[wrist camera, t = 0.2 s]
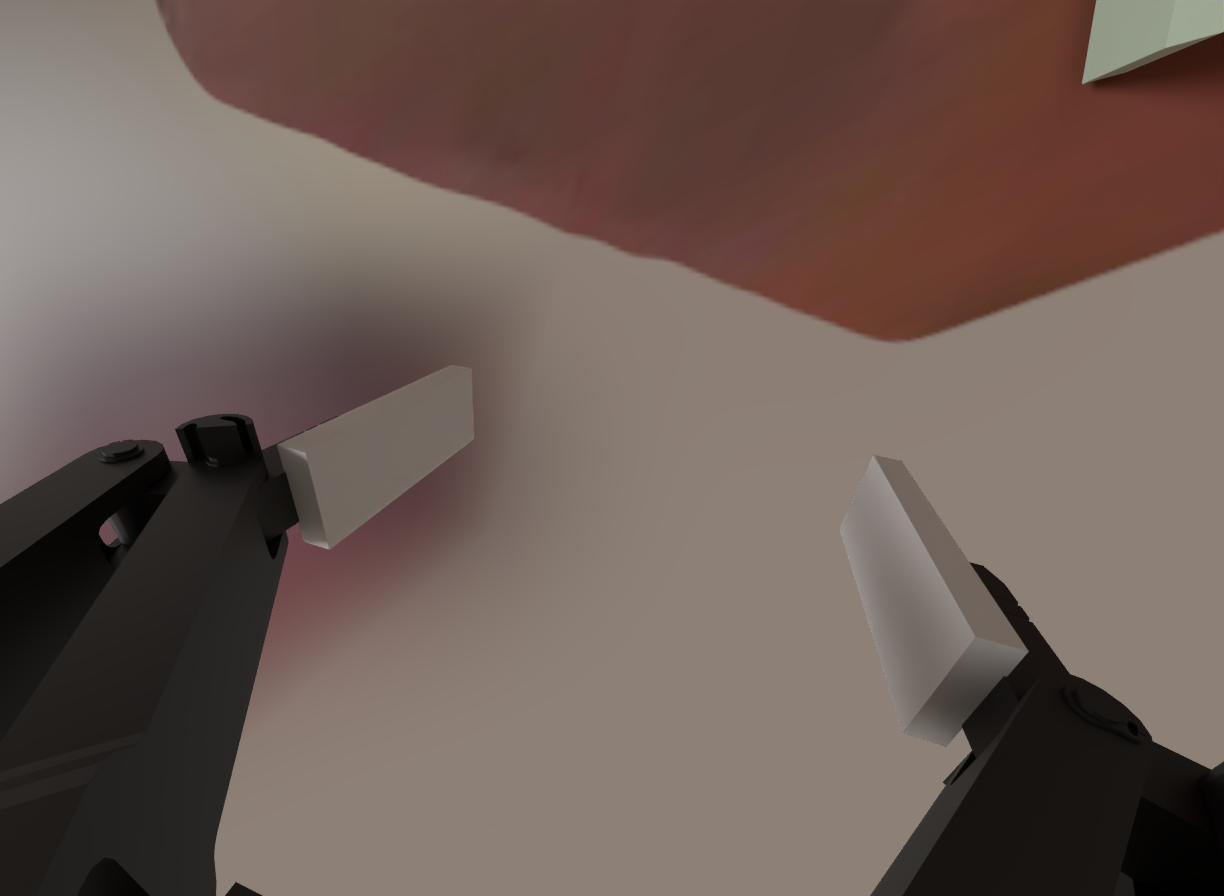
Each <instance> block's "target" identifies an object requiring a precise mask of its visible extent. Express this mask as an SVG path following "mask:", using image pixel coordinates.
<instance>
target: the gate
mask: <svg viewBox="0 0 1224 896" xmlns="http://www.w3.org/2000/svg"><path fill="white" fill-rule="evenodd" d="M1222 32H1224V0H1096V6H1095V12H1094V17H1093V23H1092V29H1091V35H1090V41H1089V46H1088V52H1087V58H1086V64H1085V70H1084V76H1083V81H1082V84H1084V83H1088V82H1092V81H1096V80H1099V79H1103V78H1107V77H1111V76H1114V75H1118V74H1122V73H1126V72H1128V71H1131V70H1133V69H1136V68H1138V67H1140V66H1143V65H1145V64H1148V63H1150V62H1152V61H1155V60H1157V59H1160V58H1162V57H1164V56H1167V55H1169V54H1172V53H1174V52H1177V51H1179V50H1181V49H1184V48H1186V47H1189V46H1191V45H1193V44H1196V43H1198V42H1201V41H1203V40H1205V39H1208V38H1210V37H1213V36H1215V35H1217V34H1220V33H1222Z"/></svg>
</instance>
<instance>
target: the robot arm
mask: <svg viewBox="0 0 1224 896" xmlns="http://www.w3.org/2000/svg"><path fill="white" fill-rule="evenodd" d="M175 430H176V433H177V435H178V438H179V440H180V443H181V445H182V448H183V450H184V453H185V455H186V458H187V461H188V462H181V461H180V462H179V461H169V459H168V456H167V454H166V452H165V449H164V447H163V444H161V443H159V442H157V441H150V440H124V441H122V442H120V441H118V442H113V443H111V444H109V445H107V446H103V447H100V448H97V449H95V450H93V451H90V452H88V453H86V454H84V455H83V456H81V457H79V458H78V459H76V460H74V461H72V462H71V463H69V464H67V465H66V466H64V467H62V468H61V469H59V470H57V471H56V472H54V473H52V474H51V475H49V476H47V477H45V478H44V479H42V480H40V481H39V482H37V483H36V484H34V485H32V486H30V487H29V488H27V489H25V490H24V491H22V492H20V493H19V494H17V495H15V496H13V497H12V498H10V499H8V500H7V501H5V502H3V503H2V504H0V896H216V873H215V862H214V849H215V841H216V836H217V831H218V827H219V823H220V819H221V815H222V811H223V807H224V803H225V799H226V795H227V791H228V787H229V783H230V779H231V774H232V770H233V766H234V762H235V758H236V754H237V750H238V746H239V742H240V738H241V733H242V729H243V725H244V722H245V717H246V713H247V710H248V705H249V701H250V697H251V693H252V689H253V685H254V681H255V677H256V673H257V669H258V665H259V661H260V657H261V653H262V648H263V644H264V641H265V636H266V632H267V628H268V624H269V620H270V616H271V612H272V608H273V604H274V599H275V596H276V592H277V588H278V584H279V580H280V576H281V572H282V567H283V563H284V559H285V555H286V551H287V547H288V537H287V533H286V530H287V529H289V528H290V527H292V526H293V525H295V524H296V523H299V526H300V529H301V533H302V537H303V540H304V542H307V543H310V544H314V545H317V546H320V547H323V548H326V549H329V550H330V549H331V548H332V547H333V546H335V545H336V544H337V543H339V542H340V541H341V540H343V539H344V538H345V537H347V536H348V535H349V534H351V533H352V532H353V531H354V530H356V529H357V528H358V527H360V526H361V525H362V524H363V523H365V522H366V521H367V520H369V519H370V518H371V517H373V516H374V515H375V514H377V513H378V512H379V511H381V510H382V509H383V508H384V507H386V506H387V505H388V504H390V503H391V502H392V501H394V500H395V499H396V498H397V497H399V496H400V495H401V494H403V493H404V492H405V491H406V490H408V489H409V488H410V487H412V486H413V485H414V484H416V483H417V482H418V481H420V480H421V479H422V478H424V477H425V476H426V475H427V474H429V473H430V472H431V471H433V470H434V469H435V468H437V467H438V466H439V465H441V464H442V463H443V462H444V461H446V460H447V459H448V458H449V457H451V456H452V455H454V454H455V453H456V452H457V451H459V450H460V449H461V448H463V447H464V446H465V445H466V444H468V443H469V442H470V441H472V440H473V439H474V422H473V395H472V370H471V369H470V368H465V367H461V366H456V365H450V366H448V367H445V368H443V369H441V370H439V371H437V372H435V373H432V374H430V375H428V376H426V377H424V378H421V379H420V380H417V381H415V382H413V383H411V384H409V385H406V386H404V387H402V388H400V389H397V390H395V391H393V392H391V393H389V394H387V395H384V396H382V397H380V398H378V399H376V400H373V401H371V402H369V403H367V404H365V405H362V406H361V407H358V408H356V409H354V410H352V411H350V412H347V413H345V414H343V415H341V416H336V417H334V418H332V419H330V420H327V421H325V422H323V423H321V424H320V425H319V426H317V425H316V426H314V427H312V428H310V429H308V430H307V431H306V432H301V433H299V434H297V435H295V436H292V437H290V438H288V439H286V440H284V441H281V442H279V443H277V444H275V445H272V446H270V447H268V448H266V449H264V450H261V447H260V443H259V440H258V437H257V433H256V430H255V427H254V423H253V420H252V419H251V418H249V417H247V416H244V415H239V414H219V415H211V416H205V417H201V418H197V419H194V420H191V421H188V422H186V423H183V424H181V425H180V426H179V427H177V428H176V429H175ZM107 519H108V520H109V522H110V524H111V526H112V528H113V529H114V531H115V533H116V535H117V537H118V538H117V539H116V540H114V541H113V542H112V543H111V544H110V545H106V544H105V543H104V542H103V541H102V539H101V537H100V535H99V530H100V527H101V526H102V524H104V522H105V521H106V520H107ZM840 532H841V535H842V538H843V541H844V545H845V548H846V551H847V555H848V558H849V561H850V564H851V568H852V571H853V574H854V577H855V581H856V584H857V587H858V590H859V594H860V596H861V600H862V603H863V606H864V610H865V613H866V616H867V620H868V623H869V626H870V629H871V632H872V636H873V639H874V642H875V645H876V648H877V652H878V655H879V658H880V662H881V665H882V668H883V671H884V675H885V678H886V681H887V684H888V687H889V691H890V694H891V697H892V700H893V703H894V707H895V710H896V714H897V717H898V720H899V723H900V727H901V730H902V733H904V734H907V735H910V736H914V737H917V738H920V739H923V740H926V741H929V742H932V743H935V744H939V745H942V746H945V747H947V745H948V744H949V743H950V742H951V741H952V740H953V738H954V737H955V736H956V735H957V734H958V733H959V732H960V730H961V729H962V728H963V730H964V732H965V735H966V737H967V739H968V741H969V744H970V746H971V749H972V751H971V752H970V753H969V755H967V757H966V758H965V759H964V760H963V761H962V762H961V763H960V764H959V765H958V766H957V767H956V769H955V770H954V771H953V772H952V773H951V774H950V775H949V776H948V777H947V778H946V779H945V780H944V782H943V783H944V784H945V785H946V786H945V788H944V789H943V790H942V792H941V793H940V795H939V796H938V798H937V799H936V800H935V802H934V804H933V805H932V806H931V808H930V809H929V811H928V812H927V814H926V815H925V817H924V818H923V819H922V821H921V822H920V824H919V826H918V827H917V828H916V830H915V831H914V833H913V834H912V836H911V837H910V838H909V840H908V841H907V843H906V844H905V846H904V847H903V849H902V850H901V852H900V853H899V855H898V856H897V857H896V859H895V860H894V862H893V863H892V865H891V866H890V868H889V869H888V871H887V872H886V874H885V875H884V877H883V878H882V879H881V881H880V882H879V884H878V885H877V887H876V888H875V890H874V891H873V893H872V894H871V896H1224V762H1222V763H1221V764H1219V765H1218V766H1217V767H1215V768H1214V769H1212V770H1211V769H1209V768H1207V767H1204V766H1202V765H1200V764H1198V763H1196V762H1194V761H1192V760H1190V759H1188V758H1186V757H1184V756H1182V755H1180V754H1178V753H1175V752H1174V751H1172V750H1169V749H1167V748H1165V747H1163V746H1161V745H1159V744H1157V743H1155V742H1153V741H1152V737H1151V735H1150V734H1149V732H1148V731H1147V729H1146V728H1145V726H1144V725H1143V724H1142V722H1141V721H1140V720H1139V719H1138V718H1137V717H1136V716H1135V715H1134V714H1133V713H1132V712H1131V711H1130V710H1129V709H1128V708H1127V707H1126V706H1124V705H1123V704H1122V703H1121V702H1119V701H1118V700H1116V699H1115V698H1114V697H1112V696H1111V695H1110V694H1108V693H1107V692H1106V691H1104V690H1103V689H1101V688H1099V687H1097V686H1095V685H1093V684H1091V683H1090V682H1088V681H1086V680H1084V679H1082V678H1079V677H1076V676H1073V675H1071V674H1069V672H1068V671H1067V669H1066V668H1065V667H1064V665H1063V664H1062V663H1061V661H1060V660H1059V658H1058V657H1057V656H1056V654H1055V653H1054V652H1053V650H1052V649H1051V647H1050V646H1049V645H1048V643H1047V642H1046V640H1045V639H1044V638H1043V636H1042V635H1041V634H1040V632H1039V631H1038V629H1037V628H1036V627H1035V625H1034V624H1033V623H1032V622H1029V617H1028V616H1027V614H1026V613H1025V611H1024V610H1023V609H1022V608H1021V607H1020V606H1018V602H1017V601H1016V599H1015V598H1014V596H1013V595H1012V594H1011V592H1010V591H1009V589H1008V588H1007V587H1006V585H1005V584H1004V583H1003V582H1001V581H1000V580H999V579H998V578H997V577H996V576H994V575H993V574H992V573H991V572H990V571H989V570H987V569H986V568H985V567H984V566H982V565H978V564H974V563H970V562H969V561H968V560H967V558H966V557H965V555H964V554H963V552H962V551H961V549H960V548H959V546H958V545H957V543H956V542H955V540H954V539H953V537H952V536H951V534H950V533H949V531H948V530H947V528H946V527H945V525H944V524H943V522H942V521H941V519H940V518H939V516H938V515H937V513H936V512H935V510H934V509H933V507H932V506H931V504H930V503H929V501H928V500H927V498H926V497H925V495H924V494H923V492H922V491H921V489H920V488H919V486H918V485H917V483H916V482H915V480H914V479H913V477H912V476H911V474H910V473H909V471H908V470H907V468H906V467H905V465H904V464H903V462H902V461H899V460H894V459H889V458H885V457H880V456H875V455H873V458H872V460H871V462H870V464H869V466H868V468H867V471H866V473H865V475H864V477H863V479H862V482H861V484H860V486H859V488H858V490H857V492H856V494H855V497H854V499H853V501H852V503H851V505H850V508H849V510H848V512H847V514H846V516H845V518H844V521H843V523H842V525H841V527H840ZM225 896H262V895H260V894H258V893H256V892H254V891H252V890H250V889H248V888H246V887H244V886H243V885H240V884H239V883H237V882H235V884H234V885H233V886H232V888H231V889H230V890H229V891H228V893H227V894H226V895H225Z"/></svg>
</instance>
